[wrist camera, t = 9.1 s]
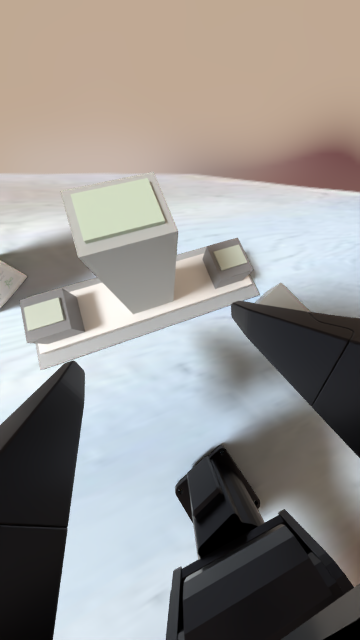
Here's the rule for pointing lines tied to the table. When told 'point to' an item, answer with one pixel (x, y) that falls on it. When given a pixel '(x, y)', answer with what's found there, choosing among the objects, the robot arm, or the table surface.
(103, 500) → the table surface
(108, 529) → the table surface
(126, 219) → the panel
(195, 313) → the rail
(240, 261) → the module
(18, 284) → the syrup box
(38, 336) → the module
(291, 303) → the block
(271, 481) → the table surface
